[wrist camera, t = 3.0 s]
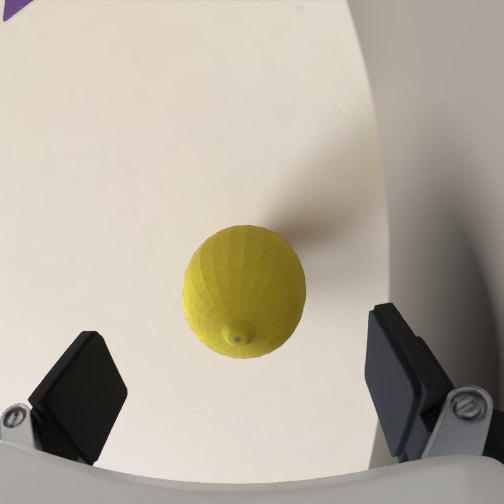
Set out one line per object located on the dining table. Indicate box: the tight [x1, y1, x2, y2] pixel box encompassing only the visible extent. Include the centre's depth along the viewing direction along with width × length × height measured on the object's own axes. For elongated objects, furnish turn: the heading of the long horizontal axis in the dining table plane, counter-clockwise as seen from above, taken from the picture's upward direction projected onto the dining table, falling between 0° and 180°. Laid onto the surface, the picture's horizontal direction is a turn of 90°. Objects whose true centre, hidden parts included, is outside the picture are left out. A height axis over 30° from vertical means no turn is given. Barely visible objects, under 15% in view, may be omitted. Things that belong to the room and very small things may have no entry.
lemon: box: [182, 225, 306, 359], centre depth 14 cm, size 6×6×8 cm
